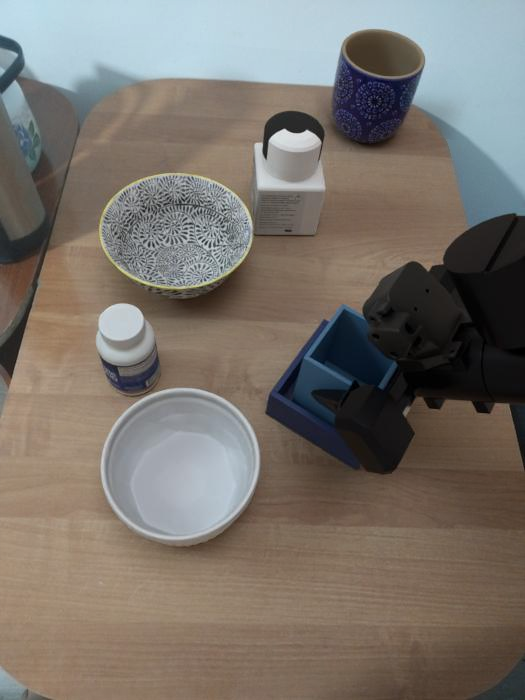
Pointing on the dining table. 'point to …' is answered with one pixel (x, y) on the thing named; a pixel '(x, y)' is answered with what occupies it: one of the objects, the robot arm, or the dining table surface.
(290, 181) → the container
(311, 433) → the navy bin
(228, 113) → the dining table surface
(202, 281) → the bowl
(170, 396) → the ramekin
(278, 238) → the dining table surface
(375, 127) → the planter
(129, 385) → the pill bottle
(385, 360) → the blue bin
